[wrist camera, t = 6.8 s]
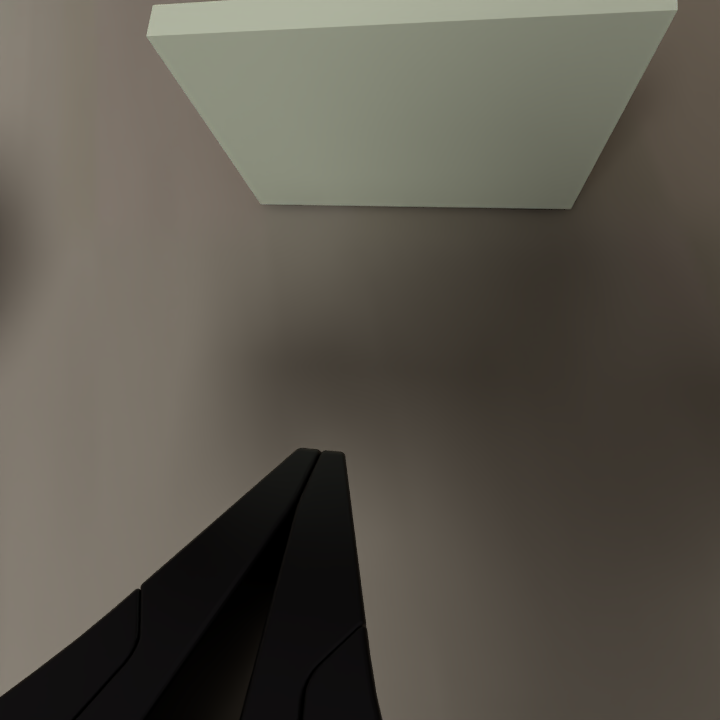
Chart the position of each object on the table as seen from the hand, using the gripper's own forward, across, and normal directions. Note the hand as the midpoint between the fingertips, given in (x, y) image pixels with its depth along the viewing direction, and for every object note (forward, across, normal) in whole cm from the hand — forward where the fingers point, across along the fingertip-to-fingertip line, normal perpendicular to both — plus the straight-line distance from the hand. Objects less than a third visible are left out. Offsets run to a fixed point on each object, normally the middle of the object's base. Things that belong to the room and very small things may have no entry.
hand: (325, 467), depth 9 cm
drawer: (+19, 0, -6) cm, 20 cm away
